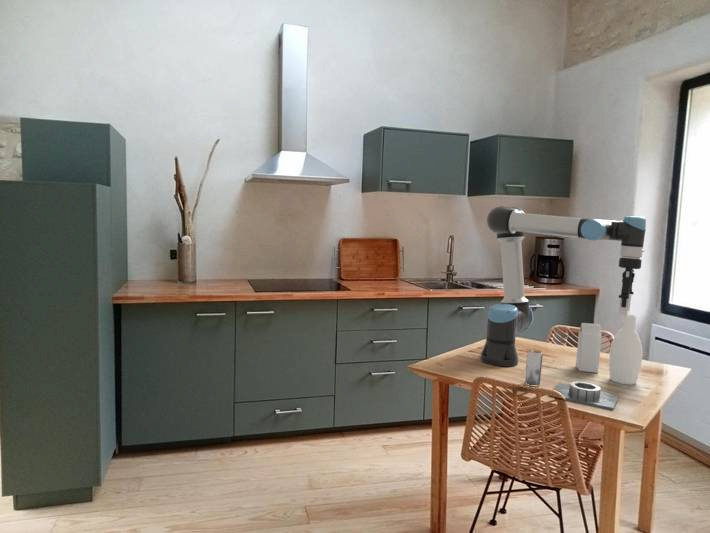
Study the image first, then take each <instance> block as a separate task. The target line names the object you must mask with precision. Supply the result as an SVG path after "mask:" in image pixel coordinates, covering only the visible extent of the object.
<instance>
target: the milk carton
mask: <svg viewBox="0 0 710 533" xmlns="http://www.w3.org/2000/svg"><path fill="white" fill-rule="evenodd" d="M602 339H603V338H602V331H601V324H600V323H599V324H598V323H588V322H587V323H586V322H581V325H580V327H579V330H578V339H577V349H576V360H575V367H576V368H577V370H578V371H580V372H587V373H588V372H589V373H597V374H598V373H599V367H600V358H601V347H602Z"/></svg>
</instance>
